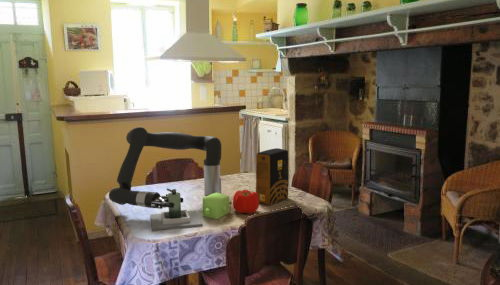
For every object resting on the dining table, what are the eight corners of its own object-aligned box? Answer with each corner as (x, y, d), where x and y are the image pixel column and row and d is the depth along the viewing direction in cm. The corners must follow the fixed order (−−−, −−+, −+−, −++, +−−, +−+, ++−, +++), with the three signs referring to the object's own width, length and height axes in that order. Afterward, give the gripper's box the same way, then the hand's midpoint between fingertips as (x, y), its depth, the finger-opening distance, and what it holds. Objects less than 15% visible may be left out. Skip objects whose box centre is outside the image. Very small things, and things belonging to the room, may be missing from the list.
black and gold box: (290, 197, 225) (290, 148, 220) (270, 206, 210) (270, 153, 205) (274, 194, 231) (274, 146, 227) (253, 202, 216) (253, 151, 212)
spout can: (180, 216, 192) (179, 185, 190) (181, 220, 187) (180, 188, 185) (167, 217, 191) (166, 186, 188) (168, 221, 185) (166, 189, 183)
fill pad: (195, 212, 201) (195, 206, 201) (202, 225, 182) (202, 219, 182) (150, 216, 195) (150, 210, 195) (152, 231, 176) (152, 224, 176)
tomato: (228, 210, 204) (227, 190, 202) (251, 206, 210) (250, 186, 209) (240, 218, 192) (240, 196, 190) (264, 213, 198) (264, 192, 197)
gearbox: (212, 223, 186) (212, 204, 185) (196, 219, 192) (196, 199, 190) (235, 212, 201) (235, 194, 199) (219, 208, 207) (219, 190, 205)
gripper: (139, 195, 185) (170, 199, 180) (156, 188, 198) (185, 190, 193) (139, 211, 186) (170, 215, 181) (156, 202, 199) (186, 206, 194)
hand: (178, 202), depth 187 cm, fingers open, 8 cm apart
